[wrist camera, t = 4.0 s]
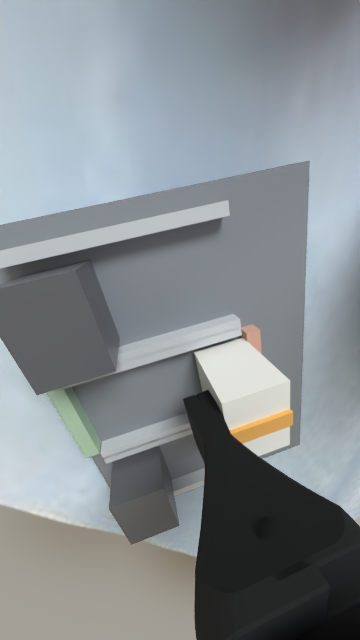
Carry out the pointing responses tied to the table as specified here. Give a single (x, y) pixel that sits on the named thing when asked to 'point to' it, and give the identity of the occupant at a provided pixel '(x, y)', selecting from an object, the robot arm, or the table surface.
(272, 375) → the handle
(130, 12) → the table surface
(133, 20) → the table surface
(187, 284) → the breaker board
